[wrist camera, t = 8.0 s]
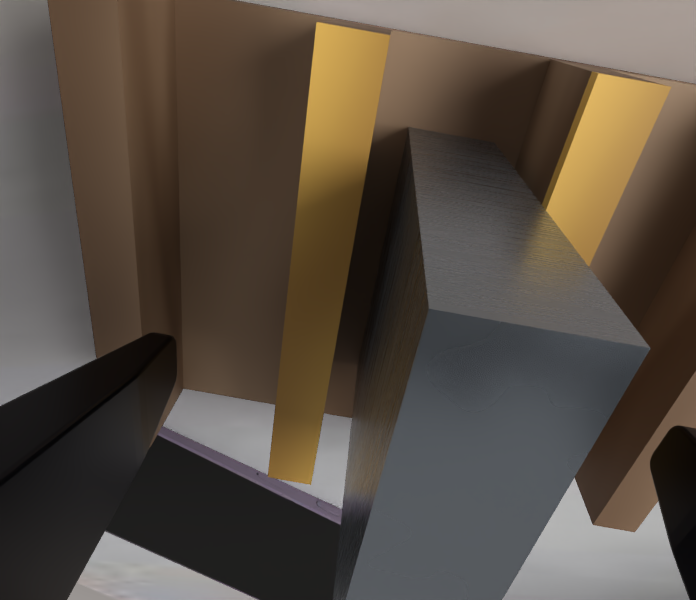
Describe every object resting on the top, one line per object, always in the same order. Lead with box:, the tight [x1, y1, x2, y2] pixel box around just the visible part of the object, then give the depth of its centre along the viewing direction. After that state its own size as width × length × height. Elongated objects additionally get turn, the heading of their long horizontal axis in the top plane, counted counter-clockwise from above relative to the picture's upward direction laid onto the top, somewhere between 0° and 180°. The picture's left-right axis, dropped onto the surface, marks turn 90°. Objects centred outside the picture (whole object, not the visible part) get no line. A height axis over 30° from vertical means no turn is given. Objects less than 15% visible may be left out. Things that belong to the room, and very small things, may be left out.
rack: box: [48, 0, 696, 532], centre depth 12 cm, size 15×11×4 cm
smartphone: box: [105, 426, 342, 600], centre depth 21 cm, size 7×1×15 cm
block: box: [333, 127, 650, 600], centre depth 10 cm, size 2×7×8 cm, turn 171°
